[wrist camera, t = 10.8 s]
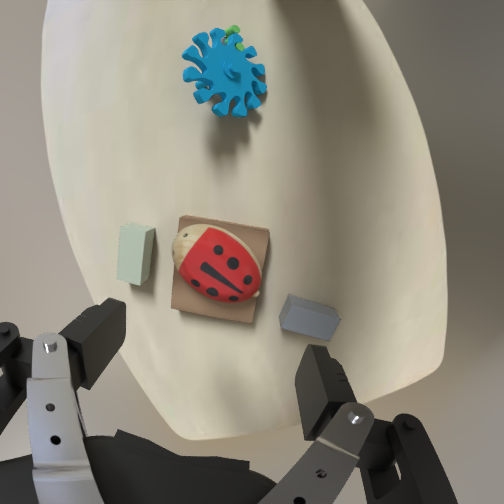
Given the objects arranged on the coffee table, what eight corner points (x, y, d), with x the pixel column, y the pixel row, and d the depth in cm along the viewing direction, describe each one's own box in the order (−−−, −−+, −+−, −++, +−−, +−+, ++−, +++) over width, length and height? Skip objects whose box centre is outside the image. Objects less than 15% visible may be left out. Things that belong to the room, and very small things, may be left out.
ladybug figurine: (193, 207, 26) (185, 210, 22) (278, 260, 27) (282, 271, 24) (162, 263, 27) (150, 273, 24) (242, 312, 28) (241, 328, 25)
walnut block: (186, 214, 29) (179, 217, 26) (268, 228, 29) (269, 232, 26) (177, 297, 31) (170, 308, 28) (252, 311, 32) (251, 323, 29)
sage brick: (132, 222, 29) (120, 226, 26) (155, 227, 29) (145, 231, 26) (127, 271, 30) (116, 279, 27) (149, 277, 30) (140, 285, 27)
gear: (265, 130, 25) (177, 93, 18) (226, 138, 29) (147, 112, 22) (276, 47, 24) (206, 3, 16) (240, 62, 28) (174, 29, 21)
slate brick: (278, 315, 31) (281, 328, 28) (288, 293, 31) (291, 304, 28) (323, 328, 32) (329, 341, 29) (333, 307, 31) (340, 319, 28)
